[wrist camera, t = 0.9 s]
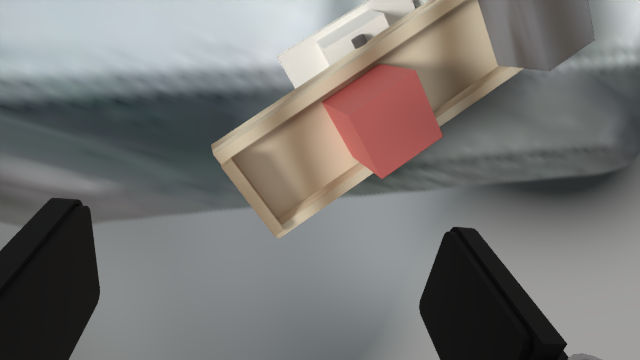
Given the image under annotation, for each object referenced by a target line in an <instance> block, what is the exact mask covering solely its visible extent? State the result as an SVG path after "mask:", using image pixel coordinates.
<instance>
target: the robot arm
mask: <svg viewBox="0 0 640 360" xmlns="http://www.w3.org/2000/svg"><path fill="white" fill-rule="evenodd" d="M99 295H100V286H99V278H98V270H97V262H96V254H95V246H94V237H93V229H92V221H91V213H90V209H89V207H88V206H83V205H82V202H81V201H80V200H77V199H63V198H51V199H50V200H49V201H48V202H47V203H46V204H45V205H44V206H43V207H42V208H41V209H40V210H39V211H38V212H37V213H36V214H35V215H34V216H33V217H32V218H31V219H30V221H29V222H28V223H27V224H26V225H25V226H24V227H23V228H22V229H21V230H20V231H19V232H18V233H17V234H16V235H15V236H14V237H13V238H12V239H11V240H10V241H9V242H8V243H7V245H6V246H5V247H4V248H3V249H2V250H1V251H0V360H69V357H70V356H71V354H72V352H73V350H74V348H75V346H76V344H77V342H78V340H79V338H80V336H81V335H82V333H83V331H84V329H85V327H86V325H87V323H88V321H89V319H90V317H91V315H92V313H93V311H94V309H95V307H96V305H97V303H98V300H99ZM419 309H420V314H421V317H422V319H423V321H424V323H425V326H426V328H427V330H428V333H429V335H430V337H431V339H432V342H433V344H434V346H435V349H436V351H437V353H438V355H439V358H440V360H601V359H599V358H597V357H594V356H591V355H586V354H574V355H572V356H570V357H568V356H567V355H566V353H565V352H564V351H563V350H564V348H565V347H566V345H567V343H566V342H565V341H564V339H563V338H562V337H561V336H560V334H559V333H558V332H557V331H556V329H555V328H554V327H553V326H552V324H551V323H550V322H549V321H548V319H547V318H546V317H545V315H544V314H543V313H542V312H541V311H540V309H539V308H538V307H537V305H536V304H535V303H534V302H533V301H532V299H531V298H530V297H529V295H528V294H527V293H526V292H525V290H524V289H523V288H522V287H521V285H520V284H519V283H518V282H517V280H516V279H515V278H514V277H513V275H512V274H511V273H510V272H509V270H508V269H507V268H506V267H505V265H504V264H503V263H502V262H501V260H500V259H499V258H498V257H497V255H496V254H495V253H494V252H493V250H492V249H491V248H490V247H489V246H488V244H487V243H486V242H485V240H483V238H482V237H481V235H480V234H479V233H478V232H477V231H476V230H475V229H473V228H462V227H453V228H452V229H451V230H450V232H446V233H445V234H444V237H443V239H442V242H441V245H440V248H439V250H438V253H437V256H436V259H435V261H434V264H433V267H432V269H431V272H430V275H429V278H428V280H427V283H426V286H425V289H424V292H423V294H422V297H421V300H420V305H419Z"/></svg>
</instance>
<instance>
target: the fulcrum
mask: <svg viewBox="0 0 640 360" xmlns="http://www.w3.org/2000/svg"><path fill="white" fill-rule="evenodd" d="M414 10H415V6H414V4H413V1H412V0H367V1H366V2H364V3H362V4H361V5H359V6H357V7H356V8H354V9H352V10H351V11H349V12H348V13H346V14H344V15H343V16H341V17H339V18H338V19H336V20H334V21H333V22H331V23H329V24H328V25H326V26H324V27H323V28H321V29H320V30H318V31H316V32H315V33H313V34H311V35H310V36H308V37H306V38H305V39H303V40H301V41H300V42H298V43H296V44H295V45H293V46H291V47H290V48H288V49H287V50H285V51H283V52H282V53H280V54H278V55H277V58H278V60H279V61H280V63H281V65H282V67H283V68H284V70H285V72H286V73H287V75H288V77H289V78H290V80H291V82H292V83H293V85H294V87H295V89H296V88H298V87H299V86H301V85H302V84H304V83H305V82H307V81H308V80H310V79H311V78H313V77H314V76H316V75H317V74H319V73H320V72H322V71H323V70H325V69H326V68H328V67H329V66H331V65H332V64H334V63H335V62H337V61H338V60H340V59H341V58H343V57H344V56H346V55H347V54H349V53H350V52H352V51H353V50H355V48H354V46H353V43H352V41H351V40H352V39H353V38H355V37H356V36H358V35H360V34H364V36H365V38H366V40H367V41H369V40H370V39H372V38H373V37H375V36H376V35H378V34H379V33H381V32H382V31H384V30H385V29H387V28H388V27H390V26H391V25H393V24H394V23H396V22H397V21H399V20H400V19H402V18H403V17H405V16H406V15H408V14H409V13H411V12H412V11H414Z"/></svg>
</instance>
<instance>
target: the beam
mask: <svg viewBox="0 0 640 360" xmlns="http://www.w3.org/2000/svg"><path fill="white" fill-rule="evenodd" d="M593 40H595V39H594V34H593V28H592V22H591V17H590V11H589V5H588V0H429V1H427V2H426V3H424V4H423V5H421V6H420V7H418V8H417V9H415V10H414V11H412V12H411V13H409V14H408V15H406V16H405V17H403V18H402V19H400V20H399V21H397V22H396V23H394V24H393V25H391V26H390V27H388V28H387V29H385V30H384V31H382V32H381V33H379V34H378V35H376V36H375V37H373V38H372V39H370V40H369V41H367V40H366V38H365V36H364V34H360V35H358V36H356V37H355V38H353V39H352V40H351V41H352V43H353V46H354V48H355V50H353V51H352V52H350V53H349V54H347V55H346V56H344V57H343V58H341V59H340V60H338V61H337V62H335V63H334V64H332V65H331V66H329V67H328V68H326V69H325V70H323V71H322V72H320V73H319V74H317V75H316V76H314V77H313V78H311V79H310V80H308V81H307V82H305V83H304V84H302V85H301V86H299V87H298V88H296V89H295V90H293V91H292V92H290V93H289V94H287V95H286V96H284V97H283V98H281V99H280V100H278V101H277V102H275V103H274V104H272V105H271V106H269V107H268V108H266V109H265V110H263V111H262V112H260V113H259V114H257V115H256V116H254V117H253V118H251V119H250V120H248V121H247V122H245V123H244V124H242V125H241V126H239V127H238V128H236V129H235V130H233V131H232V132H230V133H228V134H227V135H225V136H224V137H222V138H221V139H219V140H218V141H216V142H215V143H213V144H212V145H211V147H212V150H213V154H214V156H215V157H216V158H217V160H218V161H219V162H220V164H221V166H222V169H223V170H224V171H225V173H226V174H227V175H228V176H229V178H230V179H231V180H232V182H233V183H234V184H235V186H236V187H237V188H238V189H239V191H240V192H241V193H242V195H243V196H244V197H245V198H246V200H247V201H248V202H249V204H250V205H251V206H252V208H253V209H254V210H255V211H256V213H257V214H258V215H259V217H260V218H261V219H262V221H263V222H264V223H265V224H266V226H267V227H268V228H269V230H270V231H271V232H272V233H273V235H274V236H276V237H277V238H278V239H279V238H280V237H282V236H283V235H285V234H286V233H288V232H289V231H291V230H292V229H293V228H295V227H296V226H298V225H299V224H300V223H302V222H303V221H305V220H306V219H308V218H309V217H311V216H312V215H314V214H315V213H316V212H318V211H319V210H321V209H322V208H323V207H325V206H326V205H328V204H329V203H331V202H332V201H334V200H335V199H337V198H338V197H339V196H341V195H342V194H344V193H345V192H347V191H348V190H350V189H351V188H352V187H354V186H355V185H357V184H358V183H360V182H361V181H362V180H364V179H365V178H367V177H368V176H370V175H371V174H373V172H372V171H371V170H369V169H368V168H367V167H365V166H364V165H363V164H361V163H360V162H359V161H357V160H356V159H355V158H353V157H352V155H351V153H350V151H349V150H348V148H347V146H346V144H345V143H344V141H343V139H342V137H341V136H340V134H339V132H338V130H337V128H336V127H335V125H334V123H333V121H332V120H331V118H330V116H329V114H328V113H327V111H326V109H325V107H324V105H323V104H322V101H324V100H325V99H327V98H328V97H330V96H331V95H333V94H334V93H336V92H337V91H339V90H340V89H342V88H343V87H345V86H346V85H348V84H349V83H351V82H352V81H354V80H355V79H357V78H358V77H360V76H361V75H363V74H364V73H366V72H367V71H369V70H370V69H372V68H373V67H375V66H376V65H378V64H384V65H389V66H395V67H401V68H407V69H413V70H416V72H417V75H418V77H419V80H420V82H421V84H422V87H423V89H424V92H425V94H426V96H427V99H428V101H429V103H430V106H431V108H432V111H433V113H434V115H435V118H436V120H437V123H438V125H439V127H440V126H442V125H443V124H445V123H446V122H447V121H449V120H450V119H452V118H453V117H455V116H456V115H457V114H459V113H460V112H462V111H463V110H465V109H466V108H468V107H469V106H470V105H472V104H473V103H475V102H476V101H478V100H479V99H480V98H482V97H483V96H485V95H486V94H488V93H489V92H491V91H492V90H493V89H495V88H496V87H498V86H499V85H501V84H502V83H504V82H505V81H506V80H508V79H509V78H511V77H512V76H514V75H515V74H516V73H518V72H519V71H521V70H522V69H524V68H526V69H535V70H543V71H551V70H552V69H553V68H555V67H556V66H558V65H559V64H561V63H562V62H563V61H565V60H566V59H568V58H569V57H571V56H572V55H573V54H575V53H576V52H578V51H579V50H581V49H582V48H583V47H585V46H586V45H588V44H589V43H591V42H592V41H593Z"/></svg>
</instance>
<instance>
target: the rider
mask: <svg viewBox="0 0 640 360" xmlns="http://www.w3.org/2000/svg"><path fill="white" fill-rule="evenodd" d="M322 104H323V105H324V107H325V109H326V111H327V113H328V114H329V116H330V118H331V120H332V121H333V123H334V125H335V127H336V128H337V130H338V132H339V134H340V136H341V137H342V139H343V141H344V143H345V144H346V146H347V148H348V150H349V151H350V153H351V155H352V157H353V158H355V159H356V160H357V161H359V162H360V163H361V164H363V165H364V166H365V167H367V168H368V169H369V170H371V171H372V172H373V173H375V174H376V175H377V176H379V177H380V178H381V179H383V178H384V177H386V176H387V175H388V174H390V173H391V172H393V171H394V170H396V169H397V168H399V167H400V166H401V165H403V164H404V163H406V162H407V161H409V160H410V159H411V158H413V157H414V156H416V155H417V154H419V153H420V152H421V151H423V150H424V149H426V148H427V147H429V146H430V145H431V144H433V143H434V142H436V141H437V140H439V139H440V138H442V137H443V135H442V132H441V130H440V127H439V125H438V123H437V120H436V118H435V115H434V113H433V111H432V108H431V106H430V103H429V101H428V99H427V96H426V94H425V92H424V89H423V87H422V84H421V82H420V80H419V77H418V75H417V72H416V70H413V69H407V68H401V67H395V66H389V65H384V64H378V65H376V66H375V67H373V68H372V69H370V70H369V71H367V72H366V73H364V74H363V75H361V76H360V77H358V78H357V79H355V80H354V81H352V82H351V83H349V84H348V85H346V86H345V87H343V88H342V89H340V90H339V91H337V92H336V93H334V94H333V95H331V96H330V97H328V98H327V99H325V100H324V101H322Z"/></svg>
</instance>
